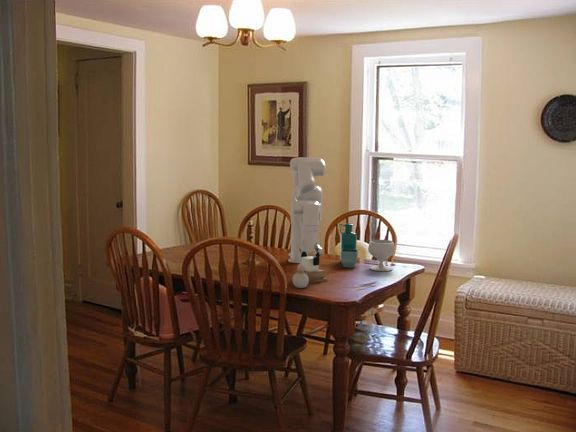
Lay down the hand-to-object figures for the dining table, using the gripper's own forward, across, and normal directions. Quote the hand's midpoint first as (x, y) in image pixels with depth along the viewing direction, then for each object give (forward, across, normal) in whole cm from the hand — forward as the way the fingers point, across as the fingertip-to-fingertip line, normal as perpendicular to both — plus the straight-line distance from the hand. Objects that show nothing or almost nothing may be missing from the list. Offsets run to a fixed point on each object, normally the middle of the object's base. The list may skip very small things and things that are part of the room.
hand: (309, 263), depth 296 cm
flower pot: (+8, -15, +38) cm, 42 cm away
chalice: (+8, -1, +48) cm, 49 cm away
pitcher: (+8, -25, +45) cm, 52 cm away
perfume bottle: (+8, +11, -13) cm, 19 cm away
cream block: (+3, 0, 0) cm, 3 cm away
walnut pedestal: (+8, 0, 0) cm, 8 cm away
